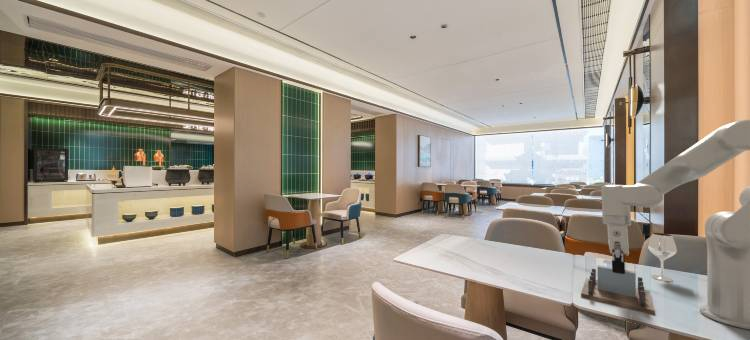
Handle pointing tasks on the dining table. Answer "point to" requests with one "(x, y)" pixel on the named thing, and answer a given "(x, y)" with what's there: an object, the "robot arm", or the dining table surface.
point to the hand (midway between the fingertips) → (618, 269)
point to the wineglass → (662, 250)
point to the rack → (618, 295)
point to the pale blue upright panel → (617, 281)
